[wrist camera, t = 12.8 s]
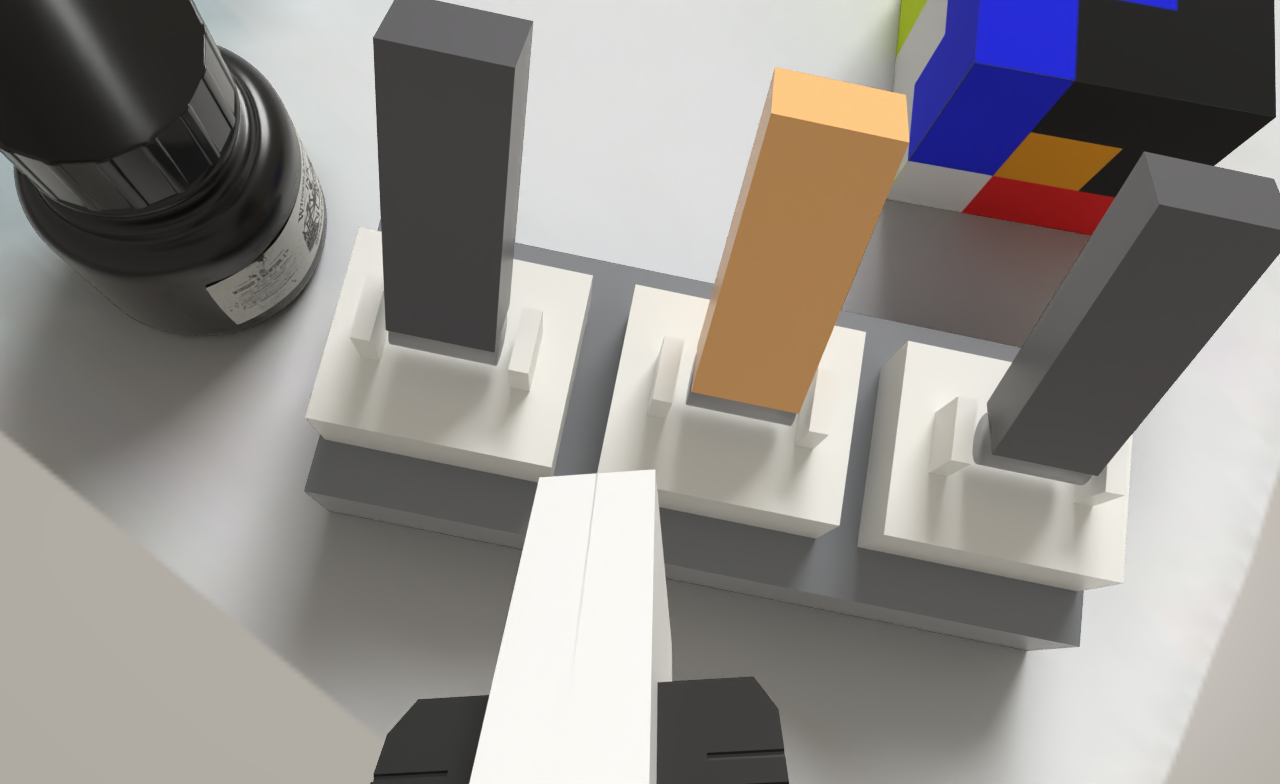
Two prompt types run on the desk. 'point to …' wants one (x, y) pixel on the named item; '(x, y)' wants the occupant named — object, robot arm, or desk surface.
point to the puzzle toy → (1072, 98)
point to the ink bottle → (157, 162)
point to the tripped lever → (795, 241)
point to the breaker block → (735, 445)
